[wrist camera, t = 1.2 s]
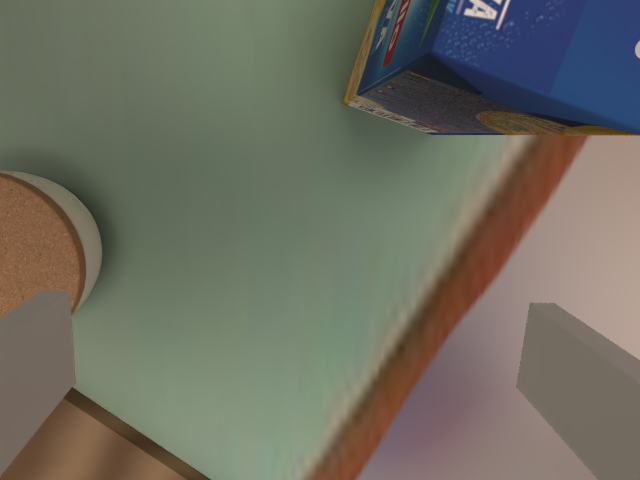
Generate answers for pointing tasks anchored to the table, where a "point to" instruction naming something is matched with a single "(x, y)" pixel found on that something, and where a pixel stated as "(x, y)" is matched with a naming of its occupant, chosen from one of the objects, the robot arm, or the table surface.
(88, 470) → the peg board
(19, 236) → the lidded jar
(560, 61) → the beverage box
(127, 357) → the table surface
